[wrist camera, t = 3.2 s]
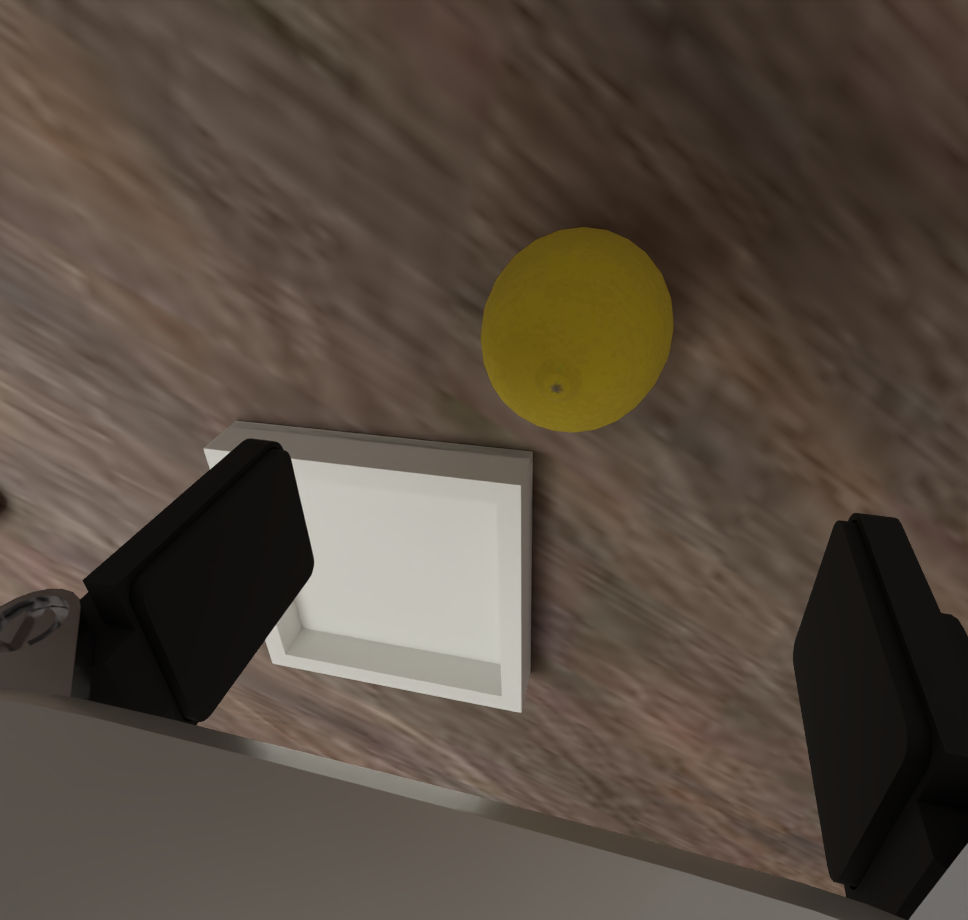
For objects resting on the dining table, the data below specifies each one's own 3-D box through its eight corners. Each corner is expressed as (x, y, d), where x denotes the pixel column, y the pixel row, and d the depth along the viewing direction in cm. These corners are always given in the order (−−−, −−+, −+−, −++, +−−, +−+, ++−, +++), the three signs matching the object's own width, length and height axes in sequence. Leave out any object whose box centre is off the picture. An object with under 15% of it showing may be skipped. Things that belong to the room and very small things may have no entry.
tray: (235, 420, 29) (203, 448, 27) (532, 451, 26) (521, 485, 24) (294, 629, 37) (272, 663, 35) (530, 673, 34) (521, 712, 32)
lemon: (502, 342, 24) (439, 452, 17) (527, 188, 21) (461, 252, 14) (648, 375, 23) (637, 503, 17) (696, 220, 20) (706, 304, 14)
